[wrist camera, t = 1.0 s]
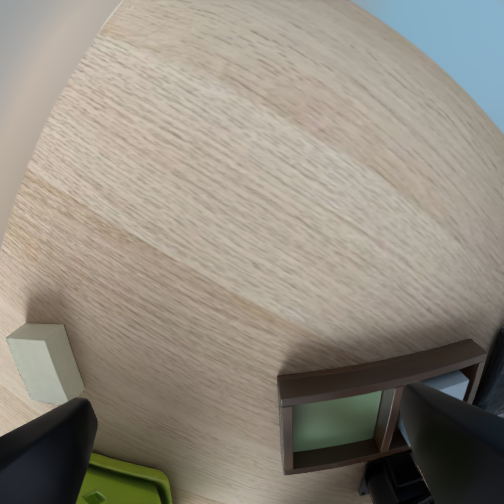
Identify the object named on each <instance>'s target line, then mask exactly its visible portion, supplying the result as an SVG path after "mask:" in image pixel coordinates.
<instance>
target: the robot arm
mask: <svg viewBox="0 0 504 504" xmlns="http://www.w3.org/2000/svg"><path fill="white" fill-rule="evenodd" d="M399 412H400V415H401V418H402V421H403V424H404V427H405V430H406V433H407V436H408V439H409V443H410V446H411V449H412V450H410V451H406V452H403V453H400V454H396V455H393V456H389V457H386V458H382V459H378V460H374V461H370V462H368V463H367V464H366V466H365V469H364V473H363V477H362V481H361V484H360V488H359V491H358V493H359V495H360V496H362V495H367V494H370V497H371V500H372V502H373V504H504V418H503V417H500V416H498V415H495V414H493V413H491V412H488V411H486V410H483V409H481V408H479V407H476V406H474V405H472V404H469V403H467V402H465V401H462V400H460V399H458V398H455V397H453V396H451V395H449V394H446V393H444V392H442V391H440V390H437V389H435V388H433V387H431V386H428V385H426V384H424V383H422V382H419V381H415V382H411V383H407V384H405V386H404V388H403V392H402V396H401V400H400V404H399ZM97 427H98V421H97V418H96V415H95V413H94V410H93V408H92V405H91V403H90V401H89V400H88V399H86V398H79V397H75V398H73V399H71V400H70V401H68V402H66V403H64V404H62V405H60V406H58V407H57V408H55V409H53V410H51V411H49V412H47V413H45V414H44V415H42V416H40V417H38V418H36V419H34V420H32V421H30V422H28V423H26V424H24V425H23V426H21V427H19V428H17V429H15V430H13V431H11V432H9V433H7V434H5V435H3V436H1V437H0V504H76V502H77V499H78V495H79V492H80V489H81V486H82V483H83V480H84V477H85V475H86V472H87V468H88V465H89V461H90V457H91V453H92V448H93V444H94V440H95V435H96V431H97ZM417 465H419V468H420V470H421V472H422V474H423V476H422V475H421V473H420V471H419V469H418V467H417ZM423 477H424V479H425V481H426V483H427V485H426V483H425V481H424V479H423ZM427 486H428V487H427Z"/></svg>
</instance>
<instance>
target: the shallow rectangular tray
mask: <svg viewBox="0 0 504 504" xmlns="http://www.w3.org/2000/svg"><path fill="white" fill-rule="evenodd" d="M486 357H487V351H485V350H484V349H483V348H482V347H480V346H479V345H478V344H477V343H475V342H474V341H473V340H472V339H468V340H464V341H461V342H457V343H454V344H450V345H446V346H443V347H439V348H435V349H431V350H427V351H423V352H419V353H415V354H410V355H406V356H401V357H397V358H392V359H387V360H382V361H377V362H372V363H366V364H361V365H355V366H349V367H343V368H337V369H330V370H323V371H316V372H308V373H300V374H292V375H282V376H277V386H278V404H279V423H280V443H281V457H282V466H283V474H284V475H291V474H300V473H307V472H314V471H320V470H326V469H332V468H337V467H343V466H348V465H352V464H357V463H361V462H366V461H370V460H374V459H378V458H382V457H385V456H389V455H393V454H396V453H400V452H403V451H406V450H409V449H411V446H408V444H407V442H406V440H405V439H404V437H403V435H402V433H401V431H400V430H399V428H398V426H397V425H398V421H399V417H400V412H399V404H400V400H401V396H402V392H403V388H404V386H405V384H407V383H411V382H415V381H422V380H426V379H429V378H433V377H436V376H440V375H443V374H446V373H449V372H453V371H456V370H460V371H461V372H462V373H463V374H464V375H465V376H466V377H467V378H468V379H469V382H468V385H467V388H466V392H465V395H464V398H463V401H465V402H467V403H469V404H472V402H473V400H474V397H475V394H476V391H477V388H478V385H479V382H480V378H481V375H482V372H483V368H484V365H485V361H486Z"/></svg>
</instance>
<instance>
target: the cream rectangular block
mask: <svg viewBox="0 0 504 504" xmlns="http://www.w3.org/2000/svg"><path fill="white" fill-rule="evenodd" d="M6 340H7V342H8V345H9V348H10V351H11V353H12V356H13V359H14V361H15V364H16V366H17V369H18V371H19V373H20V376H21V378H22V380H23V383H24V385H25V387H26V389H27V391H28V394H29V396H30V398H31V400H34V401H39V402H44V403H49V404H55V405H62V404H64V403H66V402H68V401H70V400H71V399H73V398H75V397H78V396H79V395H80V393H81V392H82V391H83V389H84V388H85V386H84V383H83V381H82V378H81V375H80V373H79V370H78V367H77V364H76V361H75V358H74V356H73V353H72V350H71V347H70V343H69V340H68V337H67V334H66V331H65V327H64V324H32V323H25V324H24V325H22V326H21V327H19V328H18V329H17V330H15V331H14V332H13V333H11V334H10V335H9V336H7V337H6Z"/></svg>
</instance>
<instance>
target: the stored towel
mask: <svg viewBox="0 0 504 504" xmlns="http://www.w3.org/2000/svg"><path fill="white" fill-rule="evenodd" d="M419 382H422V383H424V384H426V385H428V386H431V387H433V388H435V389H437V390H440V391H442V392H444V393H446V394H449V395H451V396H453V397H455V398H458V399H460V400H462V401H463V398H464V395H465V392H466V388H467V385H468V382H469V379H468V378H467V377H466V376H465V375H464V374H463V373H462V372H461V371H460V370H456V371H453V372H449V373H446V374H443V375H440V376H436V377H433V378H429V379H426V380H422V381H419ZM397 426H398V428H399V430H400V431H401V433H402V435H403V437H404V439H405V440H406V442H407V444H408V446H410V443H409V439H408V436H407V433H406V430H405V427H404V424H403V421H402V418H401V415H400V417H399V421H398V425H397Z"/></svg>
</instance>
